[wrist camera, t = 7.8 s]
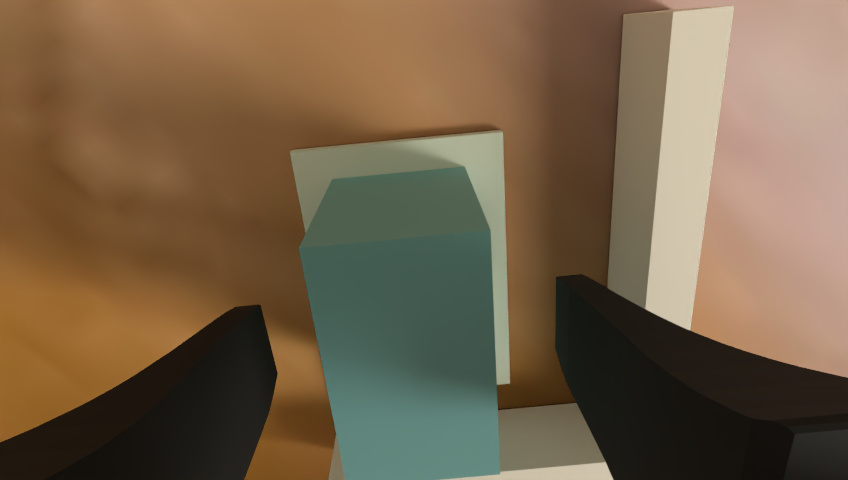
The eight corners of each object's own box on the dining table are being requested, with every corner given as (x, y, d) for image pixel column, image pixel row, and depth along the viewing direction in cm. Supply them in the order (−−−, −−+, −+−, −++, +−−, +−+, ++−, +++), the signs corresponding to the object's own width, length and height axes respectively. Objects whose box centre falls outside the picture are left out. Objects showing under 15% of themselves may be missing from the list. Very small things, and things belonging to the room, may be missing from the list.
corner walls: (645, 424, 17) (682, 485, 15) (343, 452, 17) (333, 516, 15) (689, 8, 12) (754, 3, 10) (262, 49, 12) (228, 55, 10)
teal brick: (475, 355, 16) (500, 474, 12) (363, 365, 16) (347, 488, 12) (464, 166, 13) (490, 230, 9) (332, 179, 13) (298, 248, 9)
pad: (508, 377, 16) (510, 383, 16) (339, 393, 16) (338, 399, 16) (501, 129, 13) (502, 131, 13) (291, 149, 13) (289, 152, 13)
